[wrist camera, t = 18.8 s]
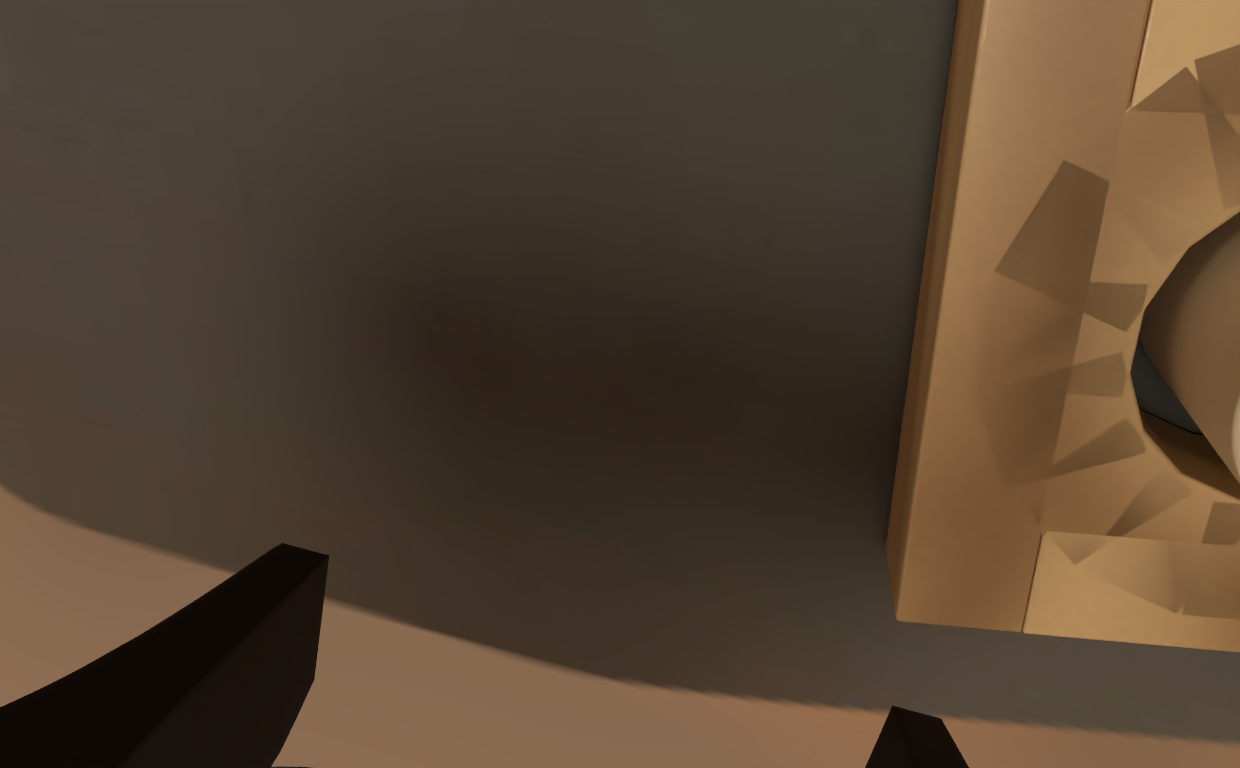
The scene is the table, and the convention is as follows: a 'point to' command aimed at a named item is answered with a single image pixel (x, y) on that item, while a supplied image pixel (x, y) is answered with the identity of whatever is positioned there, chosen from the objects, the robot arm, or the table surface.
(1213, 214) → the board
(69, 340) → the table surface
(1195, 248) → the bottle
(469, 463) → the table surface
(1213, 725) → the table surface
